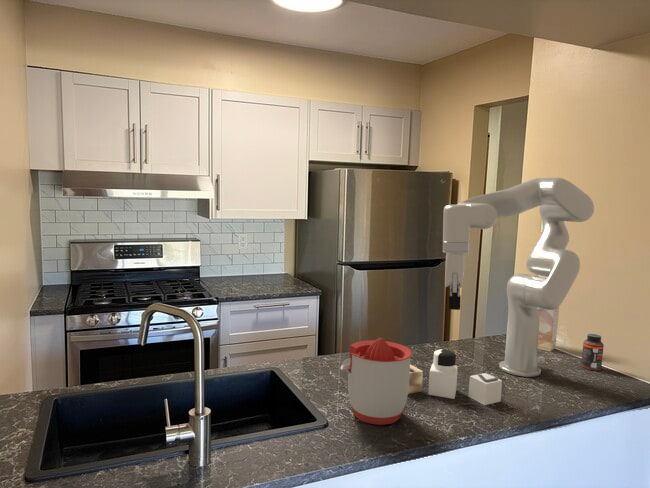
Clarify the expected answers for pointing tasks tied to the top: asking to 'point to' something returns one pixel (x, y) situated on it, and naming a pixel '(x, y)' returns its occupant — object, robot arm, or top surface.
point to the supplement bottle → (592, 352)
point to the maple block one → (415, 380)
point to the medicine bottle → (443, 374)
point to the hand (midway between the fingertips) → (454, 308)
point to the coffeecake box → (547, 329)
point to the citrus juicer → (378, 380)
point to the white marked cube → (485, 388)
